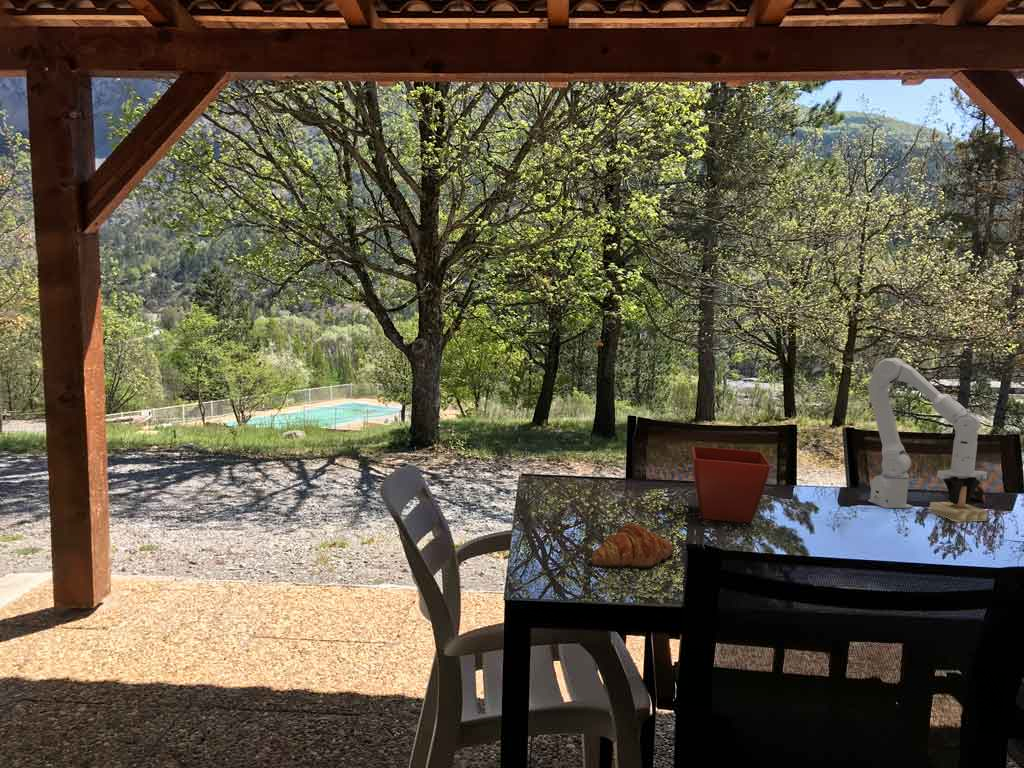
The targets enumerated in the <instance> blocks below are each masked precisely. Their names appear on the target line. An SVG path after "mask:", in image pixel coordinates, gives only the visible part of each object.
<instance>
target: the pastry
mask: <svg viewBox="0 0 1024 768" xmlns="http://www.w3.org/2000/svg"><path fill="white" fill-rule="evenodd" d="M674 553H675V549H674V546H673V545H672V543H671V542H670V541H669V540H668V539H665V538H662V537H661V536H660V535H658V534H656V533H654V532H651V531H649V530H648V529H647V528H646V527H645V526H644V527H643V526H642V525H640V524H638V523H637V524H636V523H626V524H625V525H621V526H620V527H619V529H618V531H617V532H616V533H615V534H614V533H612V534H609V535H607V536H606V538H605V540H604V542H602V544H601V545H600V547H598V548H595V549H594V550H593V552H592V554H591V556H590V557H591V558H590V563H591V565H592V566H594V567H600V568H609V567H610V568H636V569H637V568H638V569H651V568H652V567H655V566H658V565H659V564H660V563H661V561H665V560H667V559H668V558H671V557H672V556H673V555H674Z"/></svg>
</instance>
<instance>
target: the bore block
mask: <svg viewBox="0 0 1024 768" xmlns="http://www.w3.org/2000/svg"><path fill="white" fill-rule="evenodd" d="M953 505H954V503H951V502H950V501H930V502H929V511H928V512H929V513H930V512H931V513H930V514H933V513H934V515H936V514H937V515H936V516H938V515H940V516H939V517H941V516H943V517H942V518H944V517H945V518H944V519H946V518H948V519H947V520H949V519H950V521H952V522H954V521H955V523H973V522H972V521H987V519H988V514H989V513H988V510H985V509H982V508H979V507H976V506H974V505H970V504H969V503H968V504H965V508H955V507H953Z"/></svg>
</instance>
